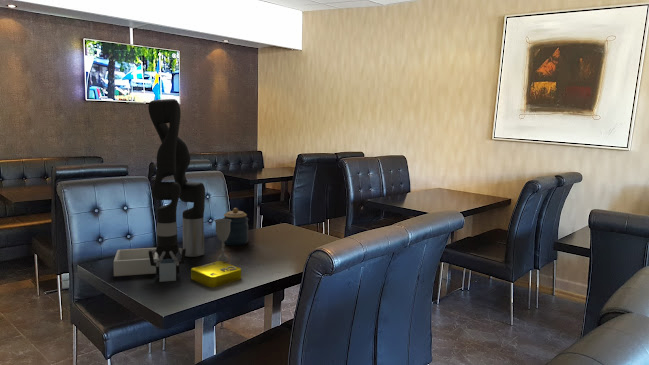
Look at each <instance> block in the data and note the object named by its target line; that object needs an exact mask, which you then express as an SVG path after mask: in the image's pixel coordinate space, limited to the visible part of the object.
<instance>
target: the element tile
mask: <svg viewBox="0 0 649 365" xmlns="http://www.w3.org/2000/svg"><path fill="white" fill-rule="evenodd" d="M190 279H191V280H192V281H194V282H197V283H199V284H201V285H204V286H206V287H208V288H216V287H217V288H218V287H220V286H223V285H226V284H230V283H233V282H237V281H240V280H241V279H242V268H241V267H239V266H235V265H233V264H231V263H228V262H222V261H217V260H216V261H213V262H211V263H207V264H203V265H199V266H195V267H191V269H190Z"/></svg>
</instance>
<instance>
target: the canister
mask: <svg viewBox="0 0 649 365" xmlns="http://www.w3.org/2000/svg"><path fill="white" fill-rule="evenodd" d="M223 216H224V217H223V218H222V219H230V220H231V222H230V233H229V236H228V238H227V240H226V241H224V245H225V246H226V245H228V246H242V245H245V244H248V243H249V224H248V221H249V218H248V217H247V216H248V214H247V213H245V212H244V211H242V210H239V208H238V207H234V208H233V209H232V210H230V211H226V212H225V213H224V214H223Z"/></svg>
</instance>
